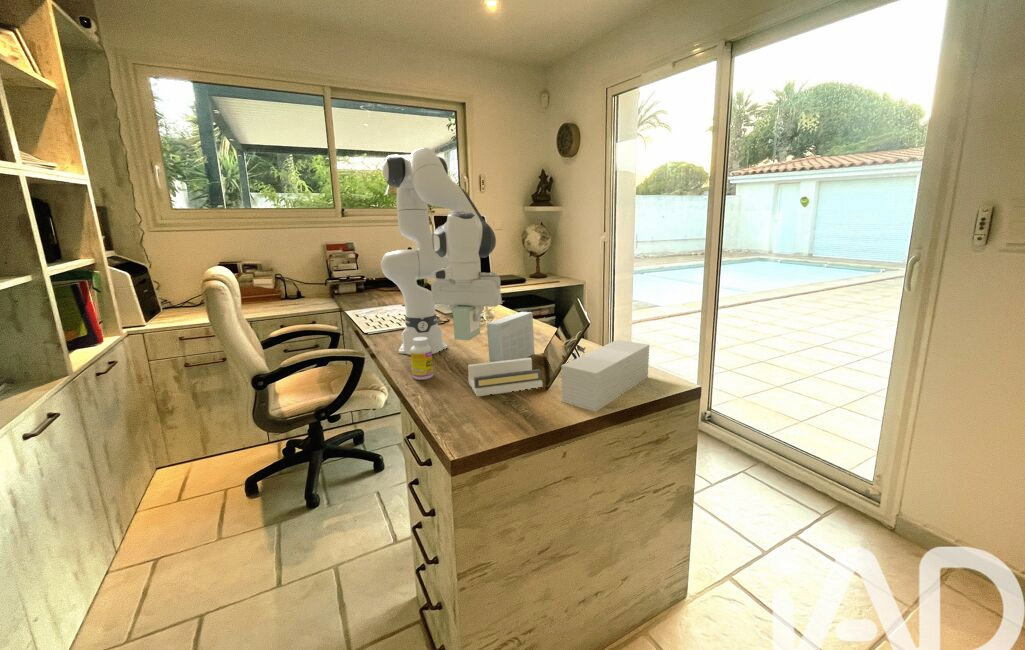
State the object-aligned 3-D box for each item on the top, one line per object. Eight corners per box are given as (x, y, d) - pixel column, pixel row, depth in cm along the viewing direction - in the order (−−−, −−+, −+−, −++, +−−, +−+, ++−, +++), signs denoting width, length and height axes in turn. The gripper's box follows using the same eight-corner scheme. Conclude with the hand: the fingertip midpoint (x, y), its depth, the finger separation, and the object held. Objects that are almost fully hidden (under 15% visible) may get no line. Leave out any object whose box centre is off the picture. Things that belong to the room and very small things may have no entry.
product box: (466, 332, 131) (464, 302, 129) (480, 333, 129) (479, 303, 127) (454, 339, 123) (452, 307, 121) (469, 340, 122) (468, 308, 120)
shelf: (468, 382, 137) (467, 363, 135) (529, 374, 142) (529, 356, 141) (476, 396, 125) (475, 376, 124) (542, 387, 131) (542, 368, 129)
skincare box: (522, 352, 167) (522, 310, 163) (534, 354, 163) (534, 312, 160) (487, 367, 150) (486, 322, 146) (500, 370, 147) (499, 324, 143)
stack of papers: (595, 412, 114) (596, 373, 111) (561, 402, 121) (561, 365, 118) (647, 377, 137) (649, 344, 135) (616, 371, 144) (617, 339, 142)
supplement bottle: (428, 381, 139) (425, 341, 136) (409, 380, 140) (405, 341, 137) (436, 373, 145) (433, 336, 142) (417, 372, 146) (414, 335, 143)
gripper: (503, 271, 122) (505, 319, 125) (437, 270, 128) (440, 316, 131) (496, 273, 116) (497, 324, 119) (427, 272, 122) (430, 321, 125)
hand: (467, 320), depth 125 cm, fingers closed on product box, 5 cm apart
